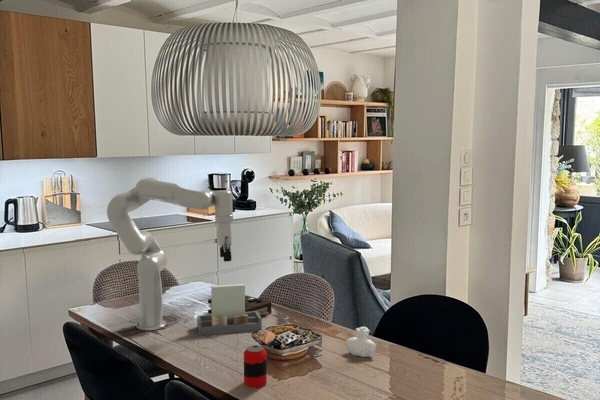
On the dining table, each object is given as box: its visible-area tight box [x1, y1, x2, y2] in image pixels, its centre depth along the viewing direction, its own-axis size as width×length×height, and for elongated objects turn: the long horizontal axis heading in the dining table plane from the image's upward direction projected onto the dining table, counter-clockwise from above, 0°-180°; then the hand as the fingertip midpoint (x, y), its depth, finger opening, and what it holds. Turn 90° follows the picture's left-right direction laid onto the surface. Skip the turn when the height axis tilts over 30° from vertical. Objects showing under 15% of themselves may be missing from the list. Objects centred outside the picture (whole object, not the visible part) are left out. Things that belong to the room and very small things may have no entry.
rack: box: [196, 311, 263, 336], centre depth 240 cm, size 26×10×6 cm, turn 105°
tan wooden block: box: [233, 314, 248, 324], centre depth 239 cm, size 6×3×6 cm, turn 105°
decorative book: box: [207, 294, 272, 318], centre depth 264 cm, size 19×8×30 cm
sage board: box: [210, 283, 246, 319], centre depth 242 cm, size 14×2×18 cm, turn 105°
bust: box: [345, 326, 377, 358], centre depth 215 cm, size 12×8×11 cm
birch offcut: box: [212, 316, 227, 326], centre depth 237 cm, size 6×3×6 cm, turn 105°
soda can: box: [243, 345, 268, 389], centre depth 188 cm, size 8×8×12 cm
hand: (225, 258), depth 242 cm, fingers open, 9 cm apart
